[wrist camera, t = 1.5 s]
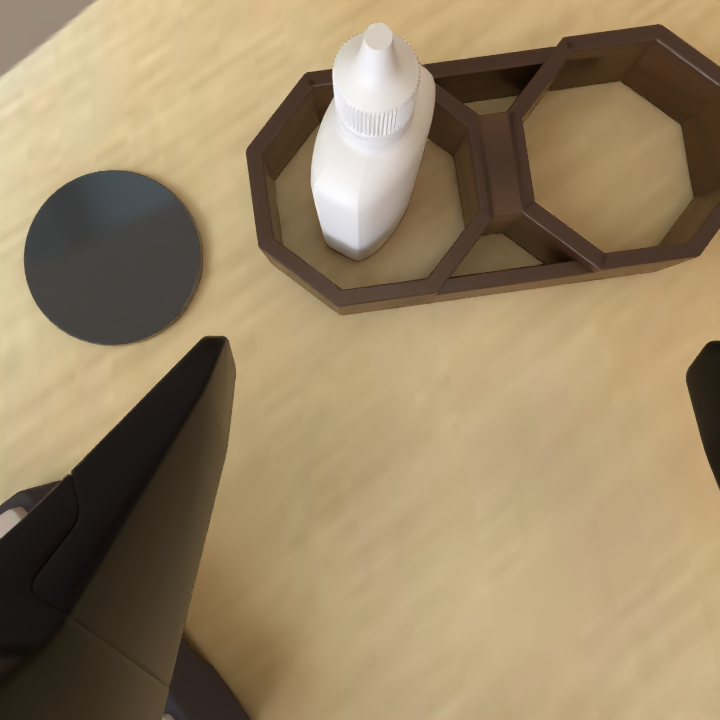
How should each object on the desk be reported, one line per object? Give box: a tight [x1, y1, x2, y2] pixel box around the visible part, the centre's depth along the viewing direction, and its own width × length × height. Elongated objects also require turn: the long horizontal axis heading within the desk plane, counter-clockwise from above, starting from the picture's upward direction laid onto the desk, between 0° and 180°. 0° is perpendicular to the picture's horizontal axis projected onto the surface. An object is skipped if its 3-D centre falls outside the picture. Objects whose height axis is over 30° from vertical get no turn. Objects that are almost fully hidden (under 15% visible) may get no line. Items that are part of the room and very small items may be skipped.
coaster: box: [24, 170, 203, 346], centre depth 24 cm, size 8×8×1 cm
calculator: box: [0, 480, 250, 720], centre depth 21 cm, size 11×4×15 cm
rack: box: [246, 24, 720, 315], centre depth 23 cm, size 10×21×3 cm, turn 98°
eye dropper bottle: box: [311, 23, 435, 261], centre depth 18 cm, size 4×6×12 cm
